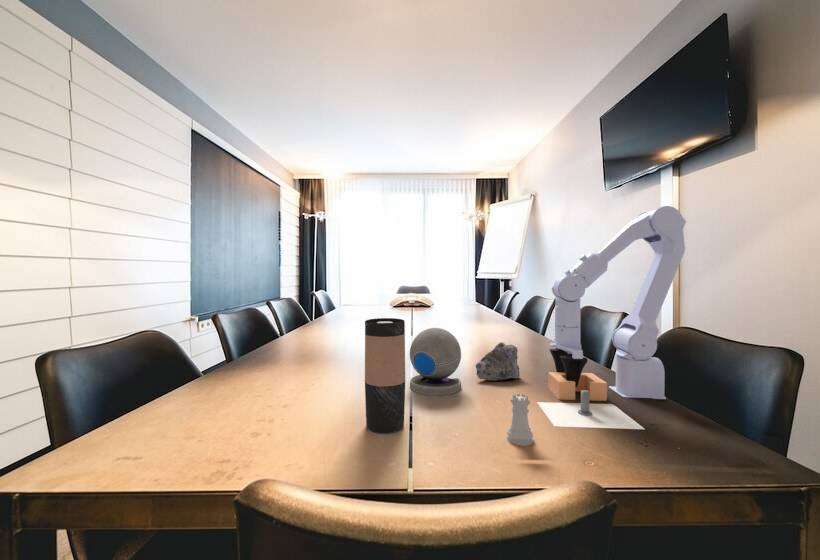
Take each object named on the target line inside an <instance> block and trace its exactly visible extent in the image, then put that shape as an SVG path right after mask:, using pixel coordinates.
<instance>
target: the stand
mask: <svg viewBox="0 0 820 560" xmlns="http://www.w3.org/2000/svg"><path fill="white" fill-rule="evenodd" d="M590 401H591V400H590V392H589V391H587V390H581V392H580V402H578V403H577V402H576V403H575V402H550V401H549V402H544V401H541V402H540V401H537V402H536V404H537V405H538V406H539V407H540V409H541V410H542V411H543V413H544V414H545V415H546V417H547V418H548V419H549V421H550V422H551V424H552V425H553V427H555V428H583V429H585V428H587V429H589V428H590V429H591V428H592V429H614V430H615V429H616V430H617V429H618V430H620V429H622V430H625V429H626V430H645V428H644V427H643V426H642V425H640V423H638V422H637V421H635V420H634V419H633V418H632V417H630V416H629V415H628V414H626V413H625V412H623V411H622V410H621V409H620V408H619V407H617V406H616V405H614V403H590Z"/></svg>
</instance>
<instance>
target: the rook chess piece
mask: <svg viewBox="0 0 820 560" xmlns="http://www.w3.org/2000/svg"><path fill="white" fill-rule="evenodd" d="M510 403H511V405H512V408H511V411H512V419H511V424H510V425H509V428H508V430H507V432H506V434H507V436H506V440H507V441H508V442H510V443H511V444H514V445H517V446H529V445H533V443H534V434H533V432H532V430H531V427H530V424H529V419H528V413H529V409H528V406H530V404H531V401H530V400H529V396H528V395H526V394H524V393H523V394H521V395H520V393H513V394H512V397H511V399H510Z"/></svg>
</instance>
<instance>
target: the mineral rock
mask: <svg viewBox="0 0 820 560" xmlns="http://www.w3.org/2000/svg"><path fill="white" fill-rule="evenodd" d="M518 351H519V350H518V347H517V346H516V345H514V344H505V343H504V342H502V341H501V342H499V343H498V344H496V345H495V347H494V348H493V349H492V350H490V351H489V352H487V353H486V354H485V355H484V356H483V357H482V358H481V359H480V361H478V362H477V363H475V368H476V377H478V379H480V380H485V381H493V382H495V381H496V382H497V381H498V382H499V381H503V380H508V379H511V380H512V379H519V378H520V376H521V375H520V367H519V365H518V358H519V356H518Z"/></svg>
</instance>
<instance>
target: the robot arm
mask: <svg viewBox="0 0 820 560" xmlns="http://www.w3.org/2000/svg"><path fill="white" fill-rule="evenodd" d="M686 222H687V221H686V219H685V218H684V217H683V215H682V214H681V212H680V211H679V210H678V209H677V208H676V207H674V206H671V205H664V206H663V205H662V206H660V207H657V208H656V209H653V210H650V211H644V212H641V213H640V214H638V215H637V216H636V217H635V218H633V219H632V220H630V221H629V222H628V223H627V224H625V225H624V227H622V229H621V230H619V232H617V233H616V234H615V235H614V236H613V237H612V238H611V239H610V240H608V242H607V243H606V244H605V245H604V246H603V247H602V248H601V249H600V250H599V251H598V252H596V253H594V252H593V253H587V254H582V255H581V256H580V257H579V262H577V263H576V264H575V265H574V266H573V267H572V268H571V269H566V270H565V271H564V274H565V276H561V277H559V278H557V279H556V280H555V281H554V283H553V286H552V287H551V291H552V294H553V296H555V298H554V299H555V305H554V340H553V341H554V342H551V343H549V347H551V348H549V352H550V354H551V356H552V359H553V362H554V366H555V372H563V373H565V375H566V380H567V381H574V382H575V387H577V386H578V383H579V379H580V375H581V373H583V370H584V367H585V366H586V365H587V363H588V358H587V357H584V351H583V349H582V344H581V322H582V321H581V317H582V315H581V312H582V311H581V309H582V308H581V298H582V297H584V295H585V292H586V289H588V288H589V287H590V286H591V285H592V284H594V283H595V282H596V281H597V280H598V279H599V278H600V277H601V276H602V275H604V274H605V273H606V272H607V271H608V267H609V263H610V261H611V260H613V259H614V258H615V257H617V255H619V254H621V252H622V251H624V250H625V249H627V248H629V246H631V244H632V243H634V242H635V241H637V240H642V239H643V240H644V241H645V242H646V243H648V244H649V246H650V247H651V249H652V251H653V252H654V255H653V257H652V260H651V262H650V264H649V266H648V270H647V272H646V275H645V277H644V279H643V281H642V284H641V287H640V288H639V289H640V290H639V292H638V294H637V296H636V299H635V302H634V303H633V306H632V309H631V311H630V313H629V314H628V315H626V316H625V318H623V319H622V321H621V323H620V324H619V326H618V327H617V328H616V329H615V330H614V331H613V332H612V335H611V341H612V345H613V346H614V347H615V348H616V352H615V385H614V386H613V385H610V386H608V388H609V389H611V390H612V391H613V392H616V394H618V395H620V397H622V398H635V399H637V398H643V399H652V400H666V399H667V397H666V396H665V375H666V373H665V367H664V364H663V362H662V360H661V359H660V358H659V357H655V356H654V354H655V353H656V351H657V349H658V341H657V339H658V335H659V333H660V331H659V328H658V325H657V319H658V316H659V314H660V313H661V312H660V311H661V310H662V307H663V305H664V303H665V300H666V297H667V295H668V293H669V290H670V287H671V285H672V283H673V281H674V278H675V276H676V274H677V271H678V268H679V266H680V264H681V261H682V259H683V256H684V255H685V251H686V246H685V236H684V227H685V225H686Z"/></svg>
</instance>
